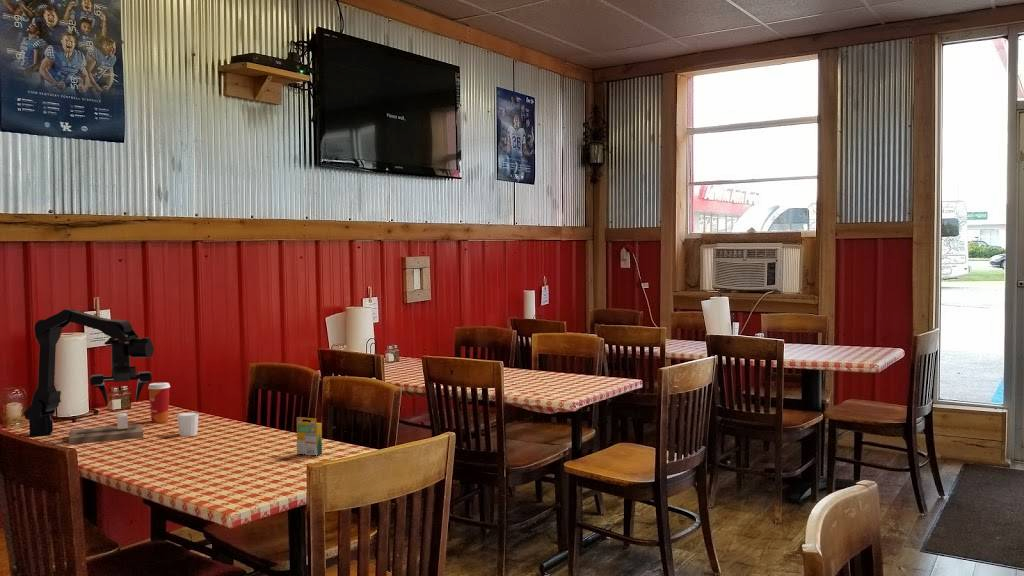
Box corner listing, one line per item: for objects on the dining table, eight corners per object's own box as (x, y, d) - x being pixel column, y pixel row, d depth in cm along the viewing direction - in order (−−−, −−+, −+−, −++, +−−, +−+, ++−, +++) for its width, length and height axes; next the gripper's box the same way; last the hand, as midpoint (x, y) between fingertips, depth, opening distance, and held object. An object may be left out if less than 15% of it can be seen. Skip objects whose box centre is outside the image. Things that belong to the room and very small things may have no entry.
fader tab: (117, 430, 275) (117, 416, 274) (117, 427, 280) (117, 413, 280) (127, 429, 276) (127, 415, 276) (126, 426, 281) (126, 412, 281)
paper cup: (149, 420, 303) (149, 382, 303) (172, 418, 306) (171, 381, 305) (147, 424, 296) (146, 386, 295) (170, 423, 298) (169, 384, 298)
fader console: (68, 444, 264) (68, 438, 264) (69, 436, 277) (69, 429, 277) (143, 437, 275) (143, 431, 274) (140, 429, 287) (140, 423, 287)
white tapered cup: (202, 432, 282) (202, 412, 282) (192, 436, 275) (192, 416, 275) (183, 432, 283) (183, 411, 283) (173, 436, 276) (173, 415, 276)
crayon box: (322, 454, 251) (322, 416, 250) (317, 456, 248) (316, 418, 247) (302, 452, 253) (301, 415, 253) (296, 454, 250) (296, 417, 250)
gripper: (89, 362, 266) (91, 409, 266) (152, 358, 274) (153, 404, 275) (89, 358, 275) (91, 404, 276) (150, 355, 284) (151, 399, 285)
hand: (121, 403), depth 278 cm, fingers open, 9 cm apart
